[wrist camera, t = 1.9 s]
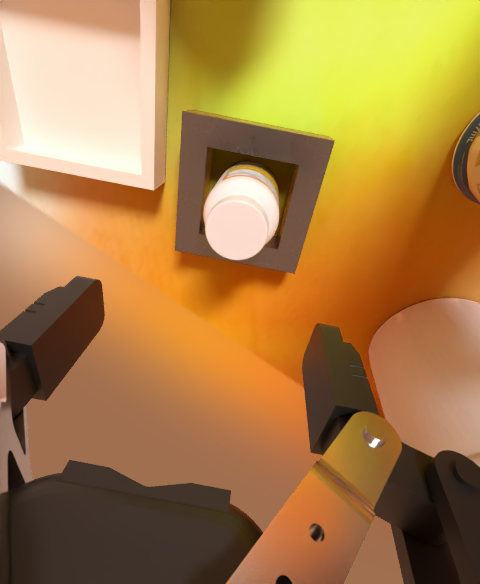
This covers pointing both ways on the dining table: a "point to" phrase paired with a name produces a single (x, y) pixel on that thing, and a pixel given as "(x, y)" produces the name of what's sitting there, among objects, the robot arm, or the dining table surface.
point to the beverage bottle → (468, 161)
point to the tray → (86, 87)
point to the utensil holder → (431, 375)
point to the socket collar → (261, 143)
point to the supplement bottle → (242, 211)
